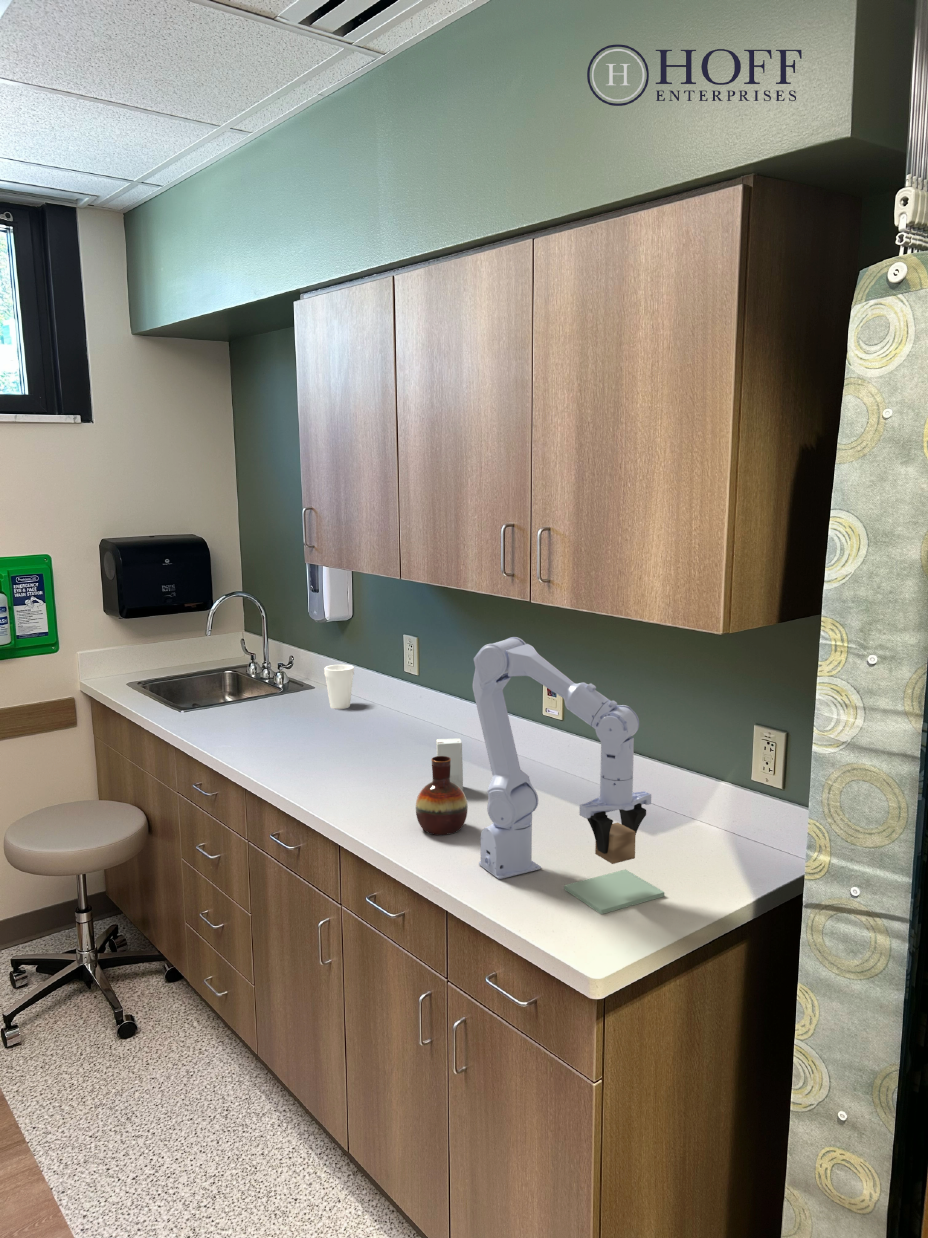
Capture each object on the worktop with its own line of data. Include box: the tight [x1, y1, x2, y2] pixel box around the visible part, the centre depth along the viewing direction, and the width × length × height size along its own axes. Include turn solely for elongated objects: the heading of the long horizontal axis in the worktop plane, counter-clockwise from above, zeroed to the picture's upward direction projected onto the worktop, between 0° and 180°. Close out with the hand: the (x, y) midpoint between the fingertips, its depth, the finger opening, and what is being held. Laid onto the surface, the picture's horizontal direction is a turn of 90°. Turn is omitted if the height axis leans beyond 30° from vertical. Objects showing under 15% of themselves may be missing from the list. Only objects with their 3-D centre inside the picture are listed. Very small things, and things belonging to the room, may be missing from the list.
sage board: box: [563, 868, 665, 915], centre depth 166 cm, size 14×11×1 cm
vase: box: [415, 755, 469, 836], centre depth 196 cm, size 11×11×15 cm
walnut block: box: [594, 822, 637, 865], centre depth 165 cm, size 5×5×5 cm
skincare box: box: [435, 738, 464, 792], centre depth 221 cm, size 6×4×12 cm
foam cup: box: [323, 664, 355, 710], centre depth 300 cm, size 10×9×13 cm
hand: (614, 848), depth 165 cm, fingers closed on walnut block, 5 cm apart
